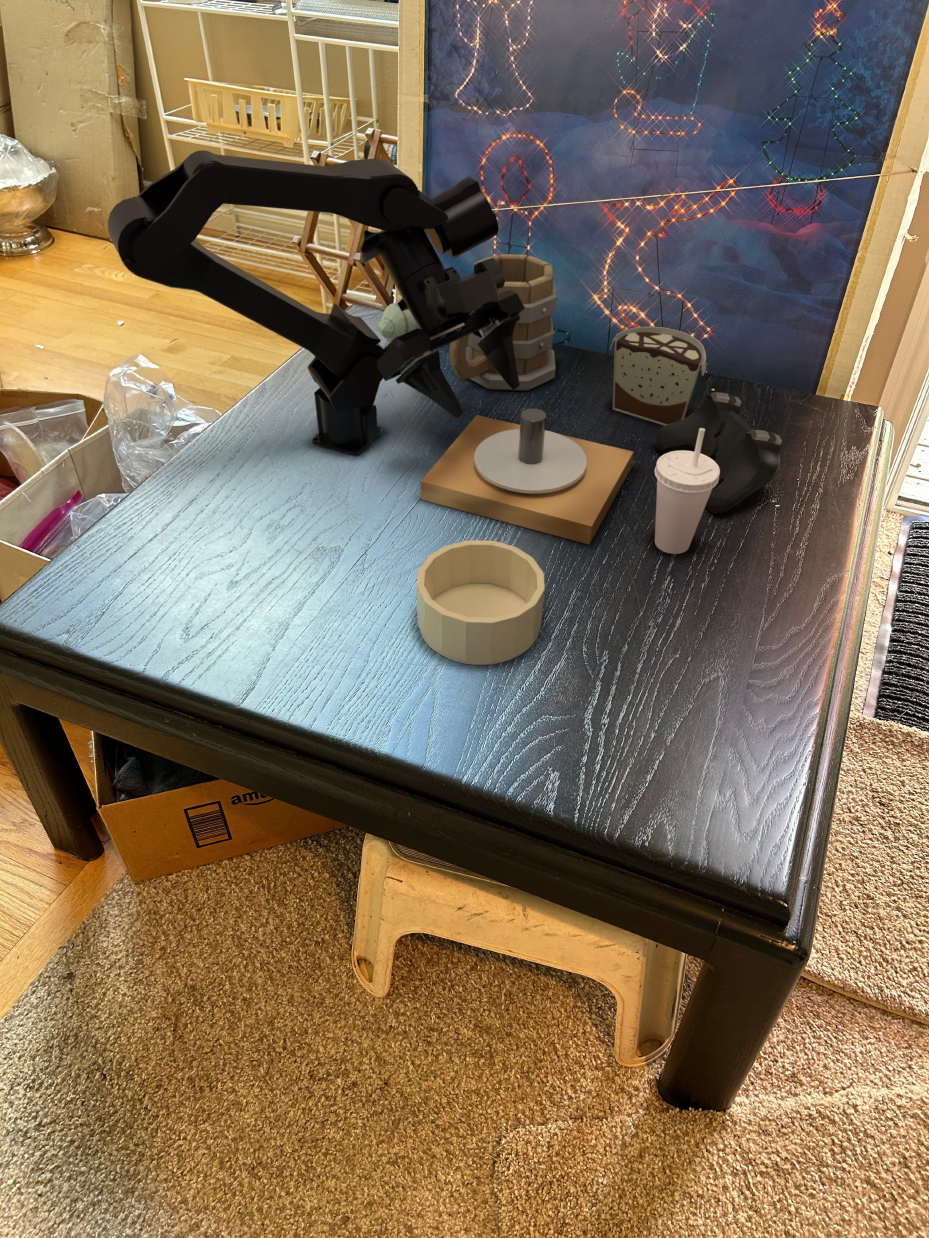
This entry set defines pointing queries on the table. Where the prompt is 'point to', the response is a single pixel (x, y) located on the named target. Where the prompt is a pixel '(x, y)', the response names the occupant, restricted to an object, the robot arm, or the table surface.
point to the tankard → (516, 328)
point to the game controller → (726, 448)
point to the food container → (655, 373)
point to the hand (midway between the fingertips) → (489, 401)
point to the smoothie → (682, 495)
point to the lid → (530, 457)
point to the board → (550, 513)
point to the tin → (480, 601)
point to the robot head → (395, 322)
